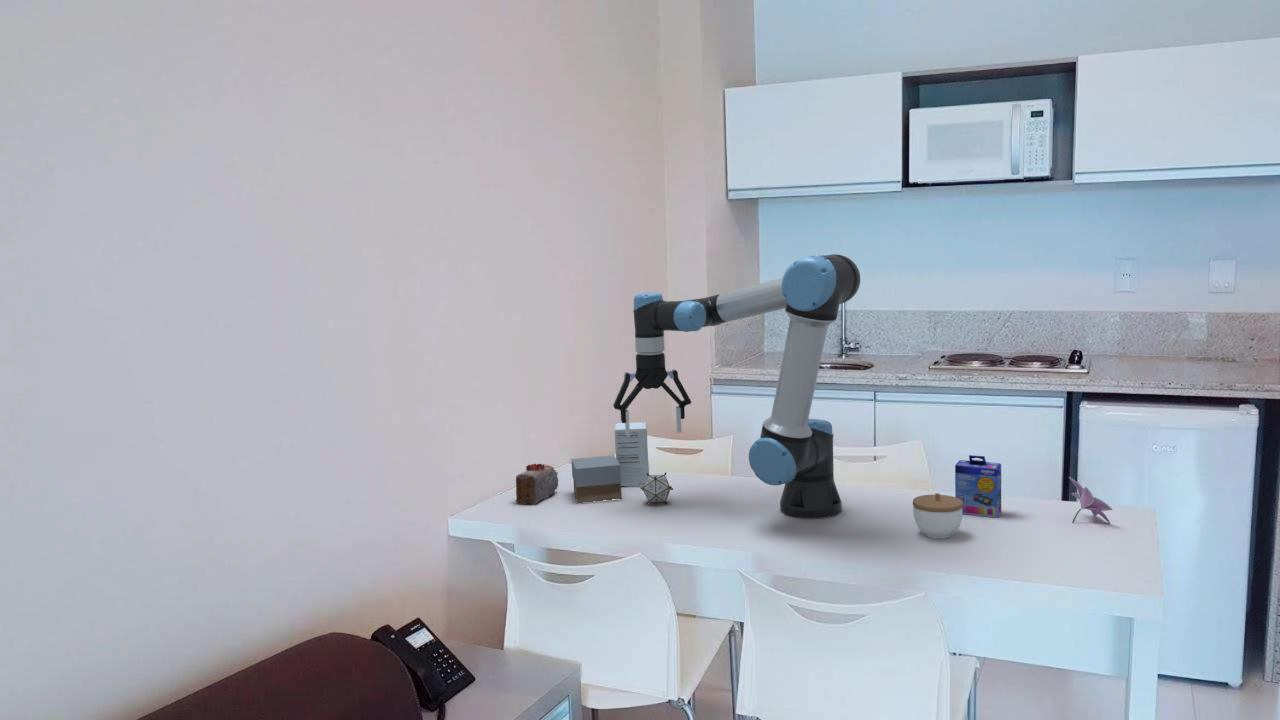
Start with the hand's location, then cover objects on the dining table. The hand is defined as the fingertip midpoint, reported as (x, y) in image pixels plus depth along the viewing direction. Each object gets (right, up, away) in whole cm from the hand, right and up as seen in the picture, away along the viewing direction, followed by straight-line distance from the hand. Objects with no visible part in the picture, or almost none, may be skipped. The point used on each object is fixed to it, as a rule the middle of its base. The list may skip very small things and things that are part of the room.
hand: (653, 433), depth 238 cm
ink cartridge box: (+78, -18, -20) cm, 82 cm away
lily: (+99, -18, -30) cm, 105 cm away
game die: (+1, -19, +2) cm, 19 cm away
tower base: (-15, -19, +12) cm, 27 cm away
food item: (-32, -19, +13) cm, 39 cm away
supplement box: (-5, -16, +24) cm, 30 cm away
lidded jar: (+64, -20, -34) cm, 75 cm away
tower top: (-16, -14, +11) cm, 24 cm away
